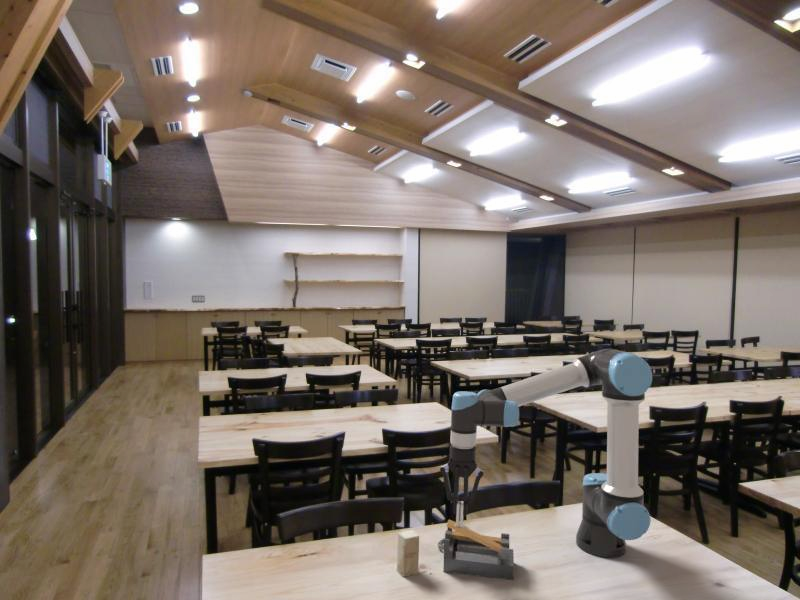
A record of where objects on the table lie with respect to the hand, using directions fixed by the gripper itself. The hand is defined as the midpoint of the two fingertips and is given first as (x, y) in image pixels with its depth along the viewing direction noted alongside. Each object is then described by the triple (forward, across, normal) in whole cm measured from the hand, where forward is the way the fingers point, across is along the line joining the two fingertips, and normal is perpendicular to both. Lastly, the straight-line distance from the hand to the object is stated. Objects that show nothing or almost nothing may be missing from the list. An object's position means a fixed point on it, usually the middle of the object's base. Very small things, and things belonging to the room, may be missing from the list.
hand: (459, 524), depth 155 cm
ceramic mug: (+14, +2, -12) cm, 18 cm away
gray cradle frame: (+13, -6, -3) cm, 15 cm away
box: (+14, +14, +4) cm, 20 cm away
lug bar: (+9, +3, -3) cm, 10 cm away
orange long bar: (+7, -5, -5) cm, 10 cm away
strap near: (+4, -5, 0) cm, 6 cm away
